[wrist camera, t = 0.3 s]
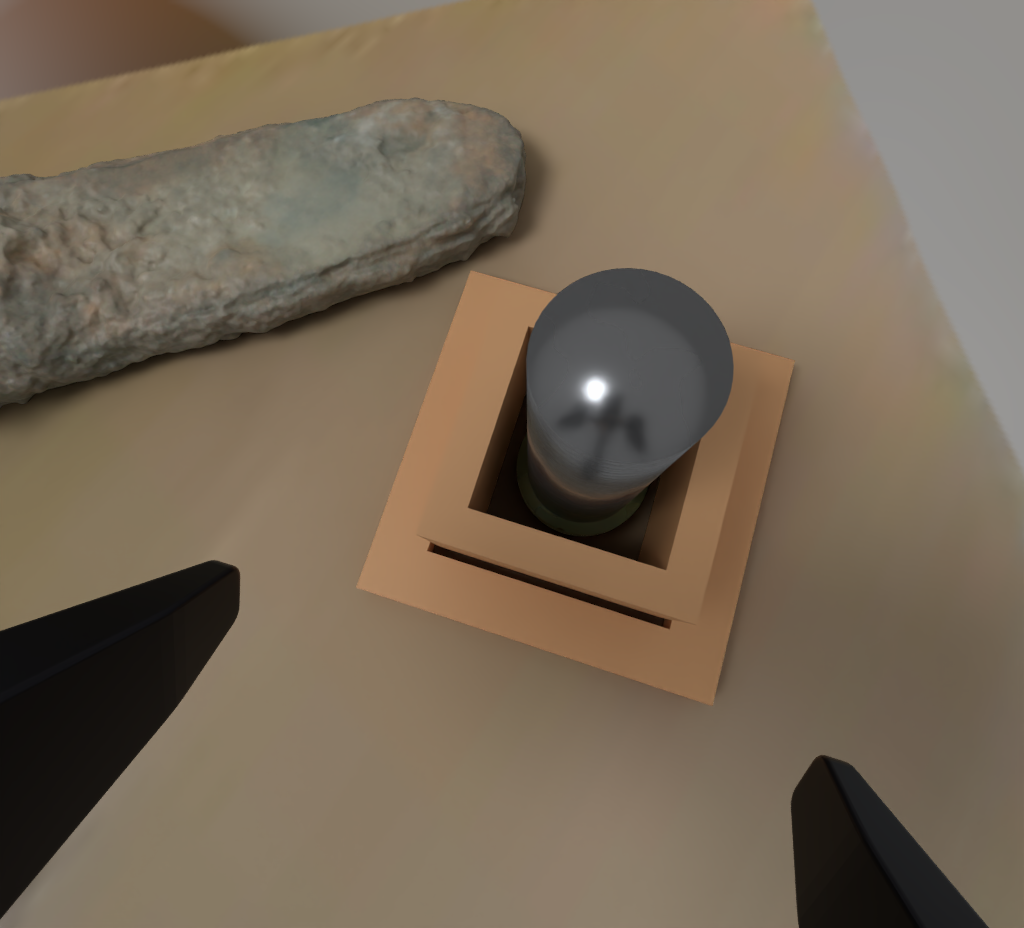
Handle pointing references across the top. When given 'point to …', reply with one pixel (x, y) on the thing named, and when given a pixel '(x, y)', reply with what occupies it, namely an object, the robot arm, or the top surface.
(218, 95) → the top surface
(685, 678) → the orange square socket base
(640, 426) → the cylinder
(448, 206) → the elongated rock
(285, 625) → the top surface
